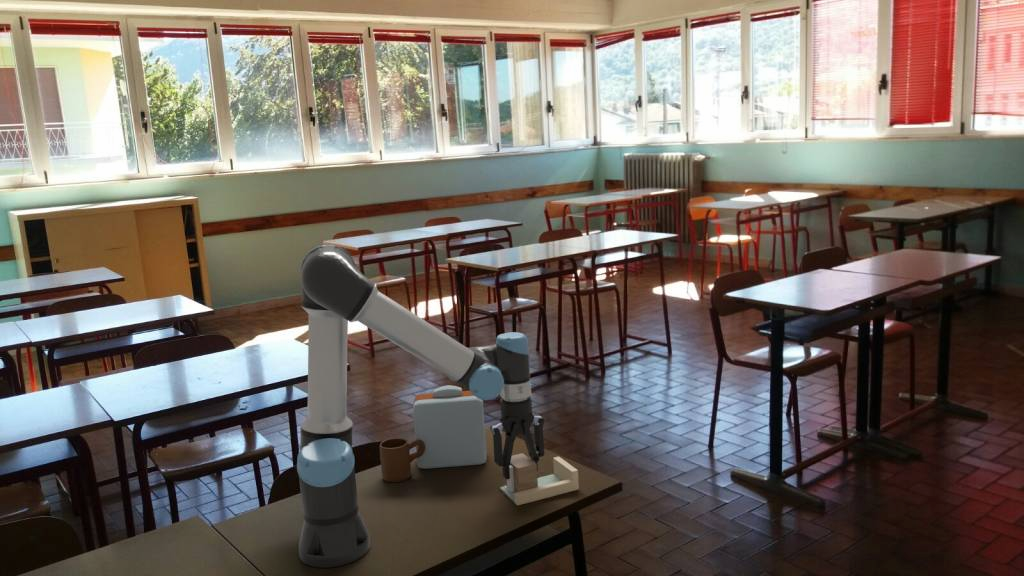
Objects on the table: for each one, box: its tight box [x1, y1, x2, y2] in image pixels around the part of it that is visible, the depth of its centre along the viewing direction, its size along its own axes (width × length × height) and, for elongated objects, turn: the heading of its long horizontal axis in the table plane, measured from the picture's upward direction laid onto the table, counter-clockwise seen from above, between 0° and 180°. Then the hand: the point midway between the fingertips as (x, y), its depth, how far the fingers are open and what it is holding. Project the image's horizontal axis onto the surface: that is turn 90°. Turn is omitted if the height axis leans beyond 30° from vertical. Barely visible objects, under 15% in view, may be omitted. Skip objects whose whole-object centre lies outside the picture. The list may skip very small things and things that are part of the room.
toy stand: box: [499, 456, 580, 506], centre depth 200 cm, size 17×10×5 cm, turn 114°
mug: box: [379, 437, 425, 483], centre depth 212 cm, size 12×8×9 cm, turn 112°
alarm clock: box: [412, 384, 488, 469], centre depth 219 cm, size 18×9×21 cm, turn 93°
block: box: [505, 452, 538, 493], centre depth 198 cm, size 8×5×8 cm, turn 24°
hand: (521, 487), depth 199 cm, fingers closed on block, 5 cm apart
